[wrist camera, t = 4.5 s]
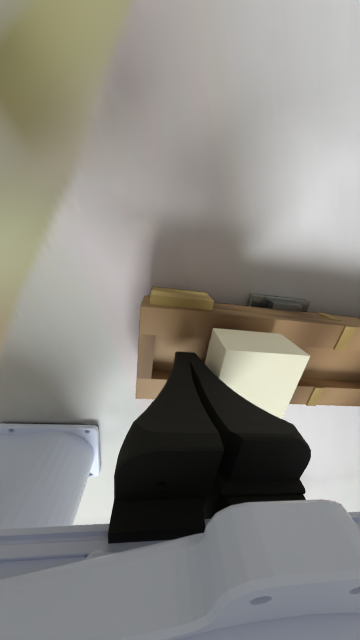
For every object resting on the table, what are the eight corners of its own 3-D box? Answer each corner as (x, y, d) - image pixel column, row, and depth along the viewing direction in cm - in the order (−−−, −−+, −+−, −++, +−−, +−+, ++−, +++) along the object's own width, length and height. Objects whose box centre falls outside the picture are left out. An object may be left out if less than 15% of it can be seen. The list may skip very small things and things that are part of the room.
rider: (194, 387, 14) (205, 433, 11) (208, 319, 12) (225, 350, 9) (248, 389, 15) (275, 434, 11) (269, 325, 13) (310, 355, 9)
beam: (140, 377, 16) (134, 406, 13) (145, 286, 13) (140, 296, 10) (356, 388, 19) (391, 413, 16) (400, 313, 16) (452, 328, 13)
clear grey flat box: (227, 376, 18) (233, 386, 17) (250, 293, 15) (259, 298, 14) (274, 378, 19) (283, 388, 18) (305, 299, 16) (318, 304, 14)
